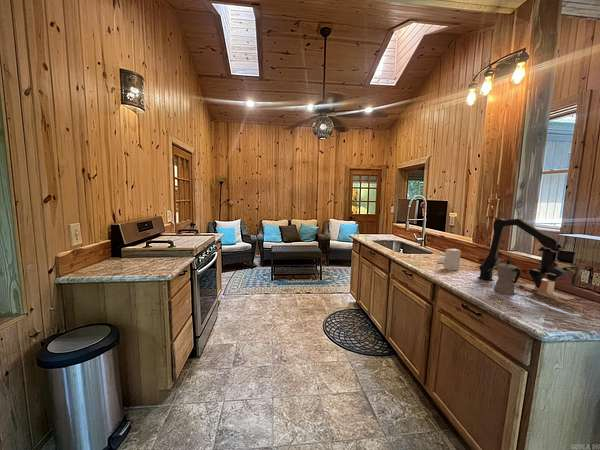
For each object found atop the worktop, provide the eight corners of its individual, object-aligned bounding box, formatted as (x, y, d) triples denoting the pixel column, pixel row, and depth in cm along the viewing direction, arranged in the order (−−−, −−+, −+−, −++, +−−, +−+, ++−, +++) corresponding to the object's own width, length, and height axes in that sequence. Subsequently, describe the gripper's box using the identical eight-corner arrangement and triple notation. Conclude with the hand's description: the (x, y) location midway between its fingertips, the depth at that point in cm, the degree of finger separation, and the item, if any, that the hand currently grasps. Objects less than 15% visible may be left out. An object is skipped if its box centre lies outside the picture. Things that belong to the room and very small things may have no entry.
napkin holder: (459, 265, 208) (460, 258, 207) (452, 267, 202) (453, 259, 201) (440, 260, 220) (441, 254, 220) (433, 262, 214) (433, 255, 213)
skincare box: (452, 268, 197) (455, 248, 195) (459, 270, 191) (461, 250, 189) (443, 268, 195) (445, 248, 193) (449, 270, 189) (451, 250, 188)
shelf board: (555, 302, 137) (555, 296, 137) (512, 287, 158) (512, 282, 158) (574, 300, 141) (575, 294, 140) (530, 285, 162) (531, 281, 161)
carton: (546, 294, 145) (548, 281, 144) (533, 290, 151) (535, 278, 150) (553, 293, 146) (554, 281, 145) (539, 289, 152) (541, 277, 151)
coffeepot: (487, 287, 156) (491, 257, 154) (503, 288, 156) (507, 258, 154) (507, 297, 141) (512, 264, 139) (525, 298, 141) (530, 265, 139)
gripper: (552, 264, 136) (548, 293, 138) (578, 263, 141) (574, 291, 142) (529, 259, 147) (525, 286, 149) (554, 258, 151) (550, 284, 153)
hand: (544, 287), depth 148 cm, fingers open, 9 cm apart
